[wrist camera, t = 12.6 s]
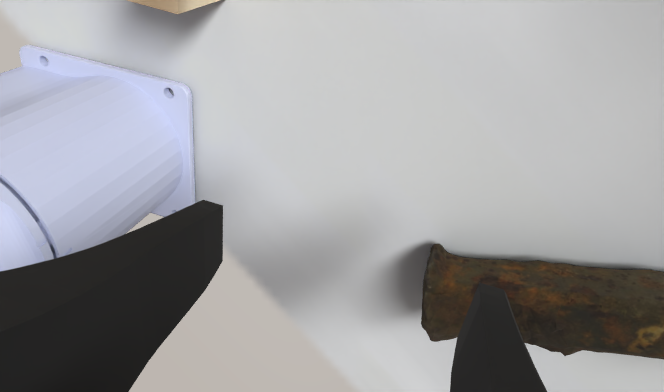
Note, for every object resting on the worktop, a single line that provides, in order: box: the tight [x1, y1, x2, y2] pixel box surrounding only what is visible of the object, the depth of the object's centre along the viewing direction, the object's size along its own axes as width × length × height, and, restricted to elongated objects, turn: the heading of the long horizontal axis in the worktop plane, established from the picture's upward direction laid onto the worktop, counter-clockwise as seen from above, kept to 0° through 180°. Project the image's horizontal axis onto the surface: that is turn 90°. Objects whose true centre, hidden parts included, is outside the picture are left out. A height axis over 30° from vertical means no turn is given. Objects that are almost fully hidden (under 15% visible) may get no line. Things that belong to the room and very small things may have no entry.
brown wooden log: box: [421, 244, 664, 359], centre depth 19 cm, size 19×4×5 cm, turn 96°
